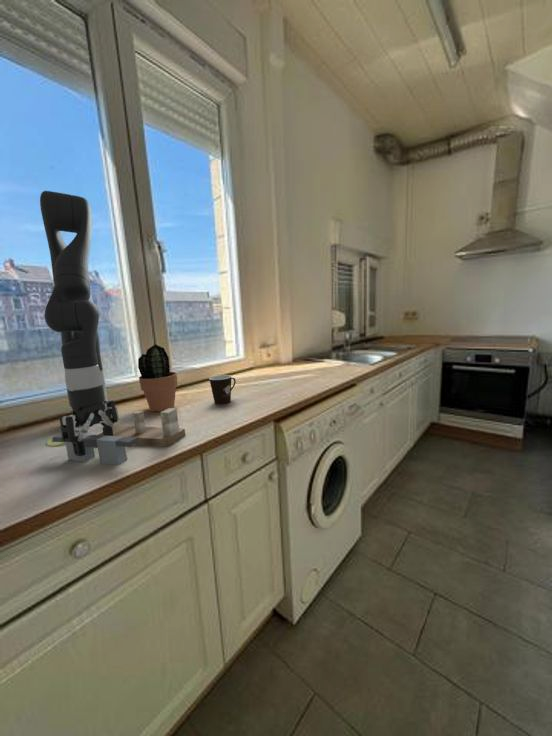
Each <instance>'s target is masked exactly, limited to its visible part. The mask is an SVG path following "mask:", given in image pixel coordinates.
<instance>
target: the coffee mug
mask: <svg viewBox="0 0 552 736" xmlns="http://www.w3.org/2000/svg"><path fill="white" fill-rule="evenodd" d="M232 380H233V385H232ZM236 382H237V381H236V378H234V377H232V375H227V374H226V375H225V374H223V375H222V374H221V375H215V376H212V377H209V384H210V389H211V393H212V398H213V403H214V404H216V405H226V404H229V403H231V402H232V401H231V400H232V391H233V389H234V388H235V386H236Z"/></svg>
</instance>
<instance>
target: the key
mask: <svg viewBox="0 0 552 736" xmlns="http://www.w3.org/2000/svg"><path fill="white" fill-rule="evenodd" d="M88 430H90V427H89V428H88ZM88 430H87V431H88ZM78 434H79V433H78ZM52 442H53V438H52V437H51V438H50V439H48V440H47V441H46V446H47V445H48V447H52V448H53V446H54V447H61V446H66V444H65V442H58V443H52Z"/></svg>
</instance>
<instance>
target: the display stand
mask: <svg viewBox="0 0 552 736" xmlns="http://www.w3.org/2000/svg"><path fill="white" fill-rule="evenodd" d="M115 408H116V413H117V418H118V421H117V422H115V423H114V424H113V426H112V430H113V436H120V437H137V439H138V442H137V443H136V444H135V445H144V446H155V445H157V446H156V447H170V445H171V444H172V445H174V444H175V443H176V442H178V441H179V440H181V439H182V438H183V437H185V436H186V430H185V428H182V427H181V428H180V427H179V418H178V410H177V408H176V407H175V408H174V407H173V408H168V409H166V410H164V411H160V418H161V419H160V420H161V426H162V427H159V426H158V427H157V426H146V422H145V414H144V410H137V411H135V412H132V417H133V424H134V426H133V425H121V423H120V417H119V410H118V406H115ZM104 414H105V415H106V413H105V411H104ZM111 417H112V415H111ZM102 428H104V427H103V426H102ZM97 435H103V431H102V432H100V433H98V434H97ZM177 440H178V441H177ZM174 442H175V443H174ZM172 445H171V446H172Z"/></svg>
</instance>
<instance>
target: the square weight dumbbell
mask: <svg viewBox="0 0 552 736" xmlns="http://www.w3.org/2000/svg"><path fill="white" fill-rule="evenodd" d="M77 436H78V435H77ZM52 438H53V442H56V443H62V442H63V441H62V433H61V432H60V433H59V434H56V435H54V436H52V437H51V439H52ZM82 441H84V447H85V453H86V455H84V456H77V455H75V454H74V449H73V444H72V442H65V444H66V445H65V447H66V453H67V458H68V461H73V462H75V461H76V462H82V463H83V462H85V463H86V462H88V461H90V460H92V459H93V458H95V457H96V454H95V449H96V448H97V451H98V452H97V453H98V458H99V463H100V464H105V463H106V464H107V465H116V464H119V465H121V464H122V463H124V462H125V460H126V461H127V460H128V456H127V449H126V448H127V447H128V448H131V447H132V446H134V445H137V444H136V443H137V442H138V439H137V437H120V436H104V435H98V434H89V433H87V434H86V433H85V434H84V436H83V439H82ZM94 448H95V449H94ZM123 461H124V462H123ZM121 462H122V463H121ZM120 463H121V464H120Z"/></svg>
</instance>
